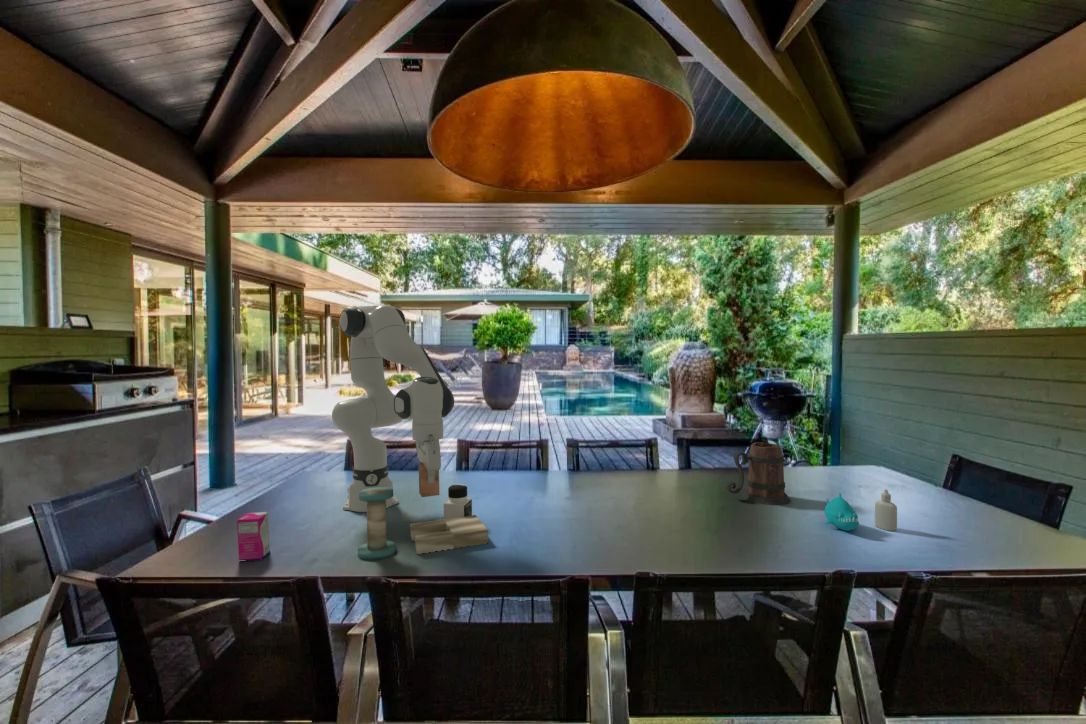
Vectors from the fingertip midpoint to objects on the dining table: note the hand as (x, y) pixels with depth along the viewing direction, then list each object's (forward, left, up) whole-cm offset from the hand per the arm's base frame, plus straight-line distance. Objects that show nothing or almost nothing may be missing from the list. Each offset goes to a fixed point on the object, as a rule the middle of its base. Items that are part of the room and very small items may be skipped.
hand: (429, 480), depth 146 cm
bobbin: (+3, -15, -18) cm, 23 cm away
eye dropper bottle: (+46, +131, -18) cm, 140 cm away
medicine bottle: (-12, +11, -18) cm, 25 cm away
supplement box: (-7, -46, -18) cm, 50 cm away
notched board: (+2, +5, -18) cm, 19 cm away
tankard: (+7, +119, -18) cm, 121 cm away
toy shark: (+39, +120, -18) cm, 128 cm away
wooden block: (0, 0, -4) cm, 4 cm away
